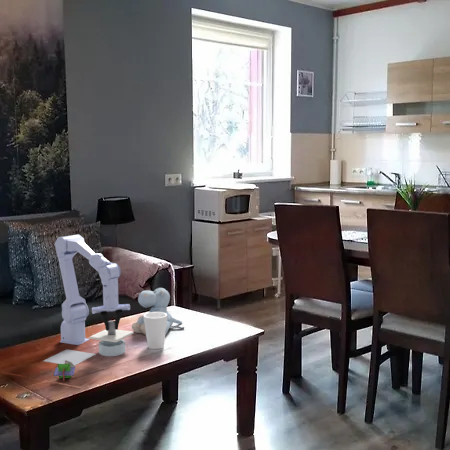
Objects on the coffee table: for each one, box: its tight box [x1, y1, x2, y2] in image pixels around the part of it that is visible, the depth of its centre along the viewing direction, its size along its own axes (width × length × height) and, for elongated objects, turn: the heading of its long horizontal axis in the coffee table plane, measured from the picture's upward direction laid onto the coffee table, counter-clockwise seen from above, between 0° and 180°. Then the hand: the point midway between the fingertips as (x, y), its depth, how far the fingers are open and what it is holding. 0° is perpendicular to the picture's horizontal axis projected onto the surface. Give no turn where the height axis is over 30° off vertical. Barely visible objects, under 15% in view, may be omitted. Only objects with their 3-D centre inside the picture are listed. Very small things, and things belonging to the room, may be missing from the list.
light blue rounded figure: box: [131, 287, 185, 337], centre depth 263 cm, size 18×23×18 cm
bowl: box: [98, 339, 126, 357], centre depth 236 cm, size 10×10×4 cm
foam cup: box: [143, 312, 167, 350], centre depth 242 cm, size 10×9×13 cm
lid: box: [89, 320, 134, 342], centre depth 235 cm, size 12×12×6 cm
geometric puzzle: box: [53, 360, 76, 383], centre depth 208 cm, size 7×7×8 cm
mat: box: [43, 349, 97, 367], centre depth 230 cm, size 14×14×1 cm
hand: (111, 329), depth 235 cm, fingers closed on lid, 3 cm apart
